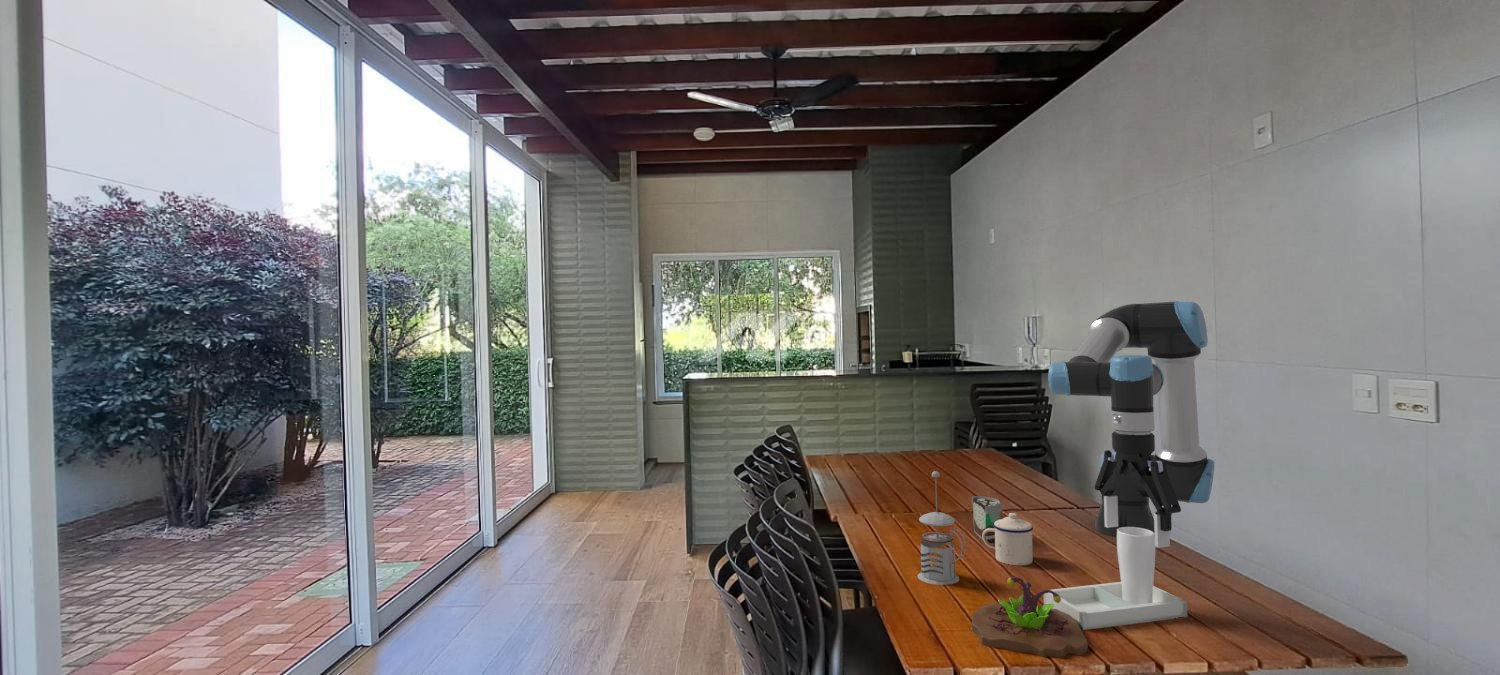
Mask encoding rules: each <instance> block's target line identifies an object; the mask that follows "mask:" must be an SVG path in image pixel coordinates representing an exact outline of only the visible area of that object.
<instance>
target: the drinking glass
mask: <svg viewBox="0 0 1500 675" xmlns="http://www.w3.org/2000/svg"><path fill="white" fill-rule="evenodd" d="M1116 551H1117V553H1116V554H1117V559H1118V568H1119V575H1120V576H1119V577H1120V582H1121V587H1122V599H1123V600H1125V601H1127V602H1129V603H1131V604H1133V605H1140V604H1148V603H1153V586H1154V577H1155V567H1156V565H1155V564H1156V547H1155V534H1154V532H1152V531H1150V530H1147V529H1143V528H1137V527H1121V528H1118V529H1117V537H1116Z"/></svg>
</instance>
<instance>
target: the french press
mask: <svg viewBox="0 0 1500 675" xmlns="http://www.w3.org/2000/svg"><path fill="white" fill-rule="evenodd" d="M940 475H941V474H940V472H939V471H937V470H934V471H933V472H932V473H931V477H933V478H935V479H934V481H935V484H934V485H935V486H934V487H937V478H940ZM937 491H938V490H937V488H935V509H936V510H935V511H932V512H928V513H925V514H923V515H922V516H920V517H919V518H918V520H919V522H920V523H922V525H924V526H925V525H926V526H930V527H936V532H935V531H930V532H925V533H924V534H922V535H921V538H922V540H921V541H920V568H921V571H920V573H918V574H917V579H918V580H920V581H921V582H923V583H927V584H930V585H938V586H939V585H941V586H945V585H947V586H948V585H953V584H956V583H958V582H959V581H960V577H959V575H958V574H956V572H957V571H956V569H957V568H956V565H957V564H956V562H958V560H960V559H962V558H964V556H965V554H966V550H967V543H966V539H965V536H964V535H963V533H962V532H961V531H960V530H959V529H958V528H957V527H954V528H953V529H950V530H949V534H948V533H944V532H943V533H942V532H938V530H939V529H938V527H948V526H951V525H953V524H955V522H956V520H955V518H954V517H952V516H951V515H949V514H946V513H944V512H939V511H938V497H937V495H938V493H937ZM956 531H957V532H958V533H959V534H960V535H961V537H962V539H963V542H964V552H963V543H962V540H961V537H960V536H959V535H958V533H957V532H956ZM954 534H955V535H956V536H957V538H958V540H959V541H960V550H961V551H960V554H959V557H958V558H956V547H955V542H953V540H954V537H953V535H954ZM945 545H946V547H943V546H945ZM947 546H950V547H947ZM940 547H942V548H940ZM931 554H935V555H931ZM930 559H933V560H930ZM933 565H935V566H933Z"/></svg>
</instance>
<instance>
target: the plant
mask: <svg viewBox="0 0 1500 675" xmlns="http://www.w3.org/2000/svg"><path fill="white" fill-rule="evenodd" d="M1017 582H1019V583H1020V584H1021V587H1022V590H1023V591H1022V593H1023V594H1022V595H1020V596H1019V597H1018V600H1017V599H1015V598H1013V597H1011V596H1010V597H1009V600H1008V601H1005V600H1002V599H998V602H996V603H995V602H994V603H987V604H985V605H983V606H981V607H979V608H978V609H977V610H975V612H974V613H973V614H972V617H971V631H972V633H973V634H975V635H977V636H978V637H979V639H980V643H981V645H983V646H986V647H990V648H994V649H1001V650H1008V651H1011V652H1017V653H1024V654H1033V655H1036V656H1039V657H1040V658H1046V657H1054V658H1058V659H1059V658H1064V657H1066V656H1067V655H1074V654H1075V656H1082V655H1084V654H1086V652H1088V649H1089V647H1088V646H1089V643H1088V640H1087V638H1086V636H1085V634H1084V633H1083V630H1082V629H1081V628H1080V627H1079V623H1078V621H1077V620H1076V619H1074V618H1072V617H1071V616H1070V615H1068V614H1066V613H1064V612H1061V611H1059V610H1058V609H1052V608H1053V607H1054V604H1046V605H1044V604H1043V605H1042V606H1039V605H1038V603H1039V601H1040V598H1042V596H1043V594H1045V593H1052V594H1053V598H1054V601H1055V602H1057V603H1059V602H1060V601H1061V598H1060V596H1059V595H1058V594H1057V593H1055V592H1053V591H1051V590H1052V589H1042V590H1039V591H1038V592H1035V595H1033V596H1031V590H1032V588H1033V584H1032V583H1031V582H1029V581H1024V579H1022V578H1020V577H1018V576H1011V577H1009V578H1008V579H1007V580H1006V584H1007V586H1010V587H1013V586H1015V584H1016V583H1017Z"/></svg>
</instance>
